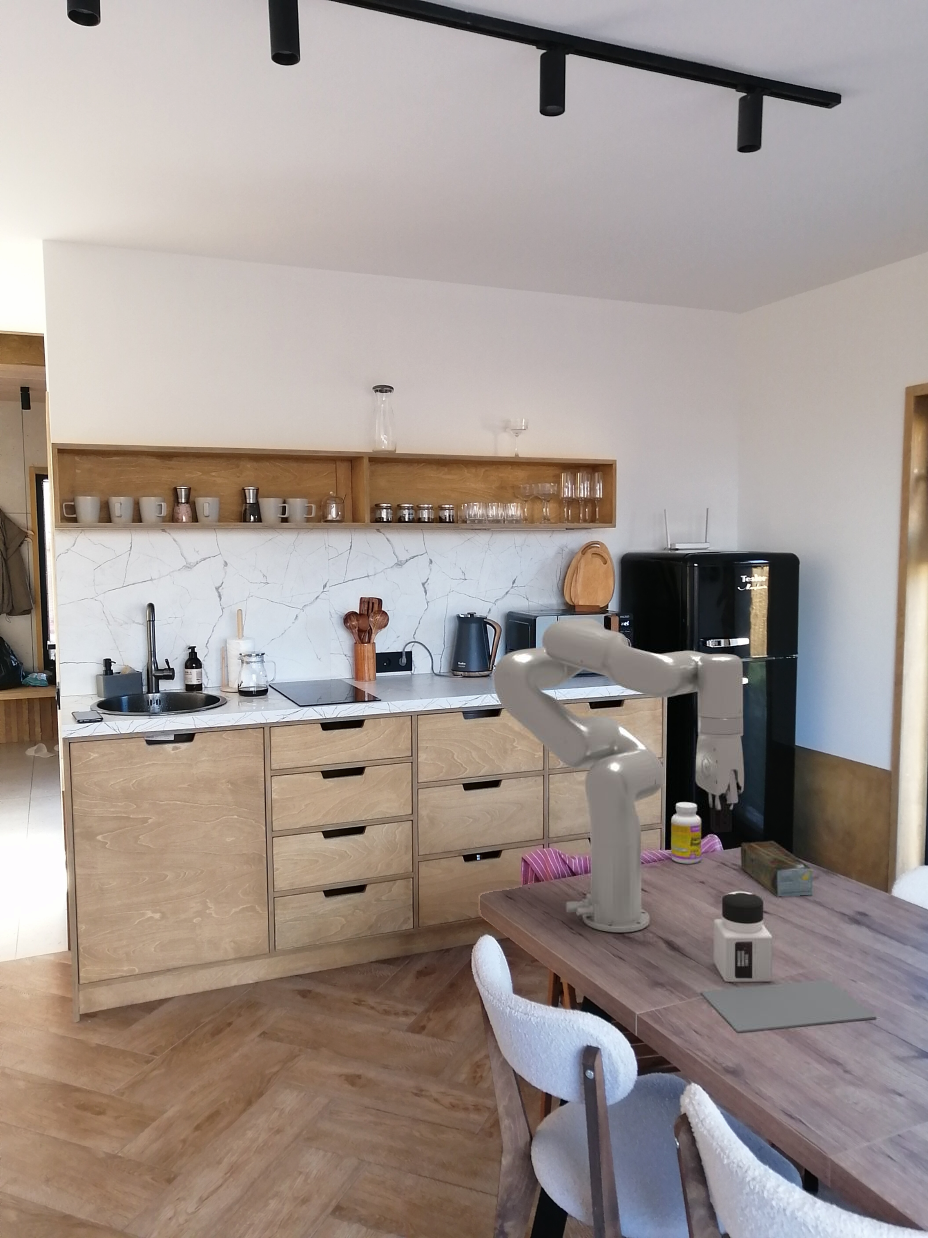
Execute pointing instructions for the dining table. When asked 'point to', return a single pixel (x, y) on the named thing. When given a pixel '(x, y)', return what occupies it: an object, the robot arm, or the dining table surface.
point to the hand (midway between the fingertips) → (721, 830)
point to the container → (742, 940)
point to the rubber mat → (785, 1005)
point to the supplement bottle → (686, 834)
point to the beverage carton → (776, 868)
